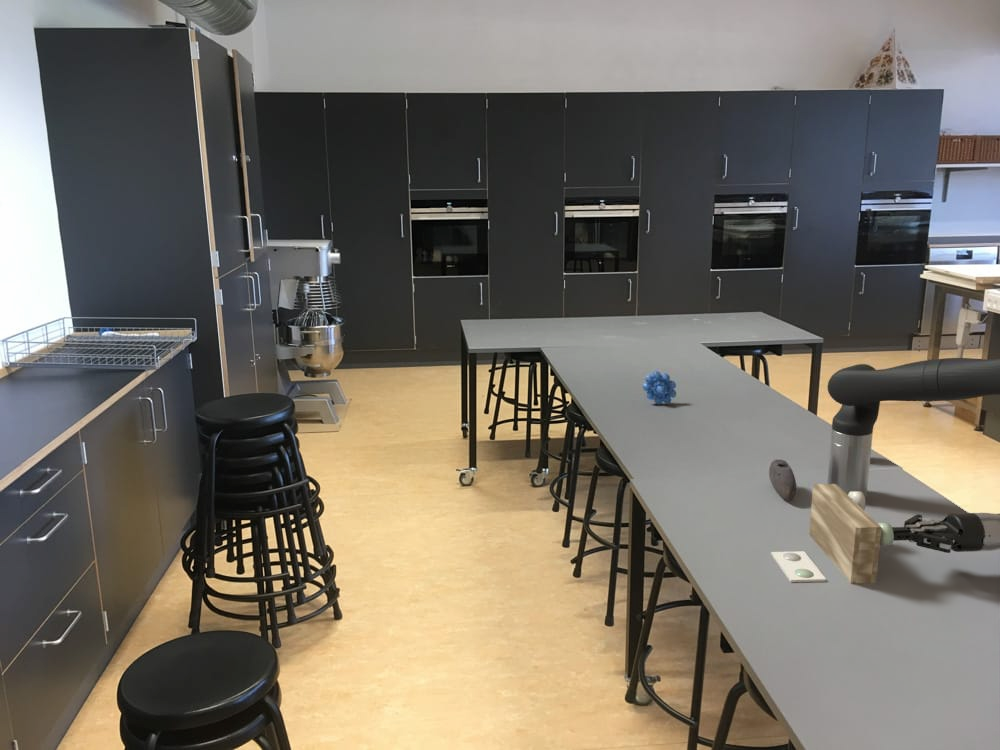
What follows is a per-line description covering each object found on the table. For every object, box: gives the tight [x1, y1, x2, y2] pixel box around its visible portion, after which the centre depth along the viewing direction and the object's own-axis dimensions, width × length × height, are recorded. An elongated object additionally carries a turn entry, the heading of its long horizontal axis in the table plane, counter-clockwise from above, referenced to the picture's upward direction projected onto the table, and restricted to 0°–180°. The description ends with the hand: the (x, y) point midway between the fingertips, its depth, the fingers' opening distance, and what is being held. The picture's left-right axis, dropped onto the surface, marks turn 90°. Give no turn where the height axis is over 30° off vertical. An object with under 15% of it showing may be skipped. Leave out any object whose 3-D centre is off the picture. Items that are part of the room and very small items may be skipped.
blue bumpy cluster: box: [642, 370, 677, 406], centre depth 278 cm, size 12×7×12 cm, turn 87°
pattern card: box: [770, 550, 827, 583], centre depth 167 cm, size 12×7×1 cm, turn 0°
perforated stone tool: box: [768, 458, 797, 502], centre depth 202 cm, size 15×5×7 cm, turn 172°
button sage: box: [877, 522, 894, 546], centre depth 160 cm, size 6×4×4 cm
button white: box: [848, 491, 866, 511], centre depth 176 cm, size 6×4×4 cm
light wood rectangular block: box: [808, 483, 882, 584], centre depth 169 cm, size 5×22×12 cm, turn 0°
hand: (888, 534), depth 160 cm, fingers closed
